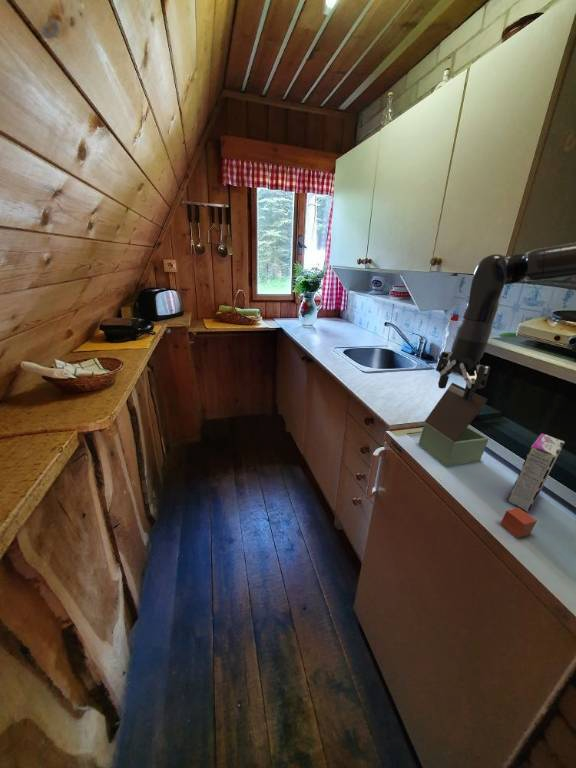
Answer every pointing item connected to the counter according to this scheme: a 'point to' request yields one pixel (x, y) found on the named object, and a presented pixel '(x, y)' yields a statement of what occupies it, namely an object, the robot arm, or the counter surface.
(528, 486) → the candy bar box
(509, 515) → the block
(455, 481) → the counter surface
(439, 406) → the lid
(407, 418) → the counter surface
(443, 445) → the lidded olive box
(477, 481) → the counter surface
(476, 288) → the robot arm
